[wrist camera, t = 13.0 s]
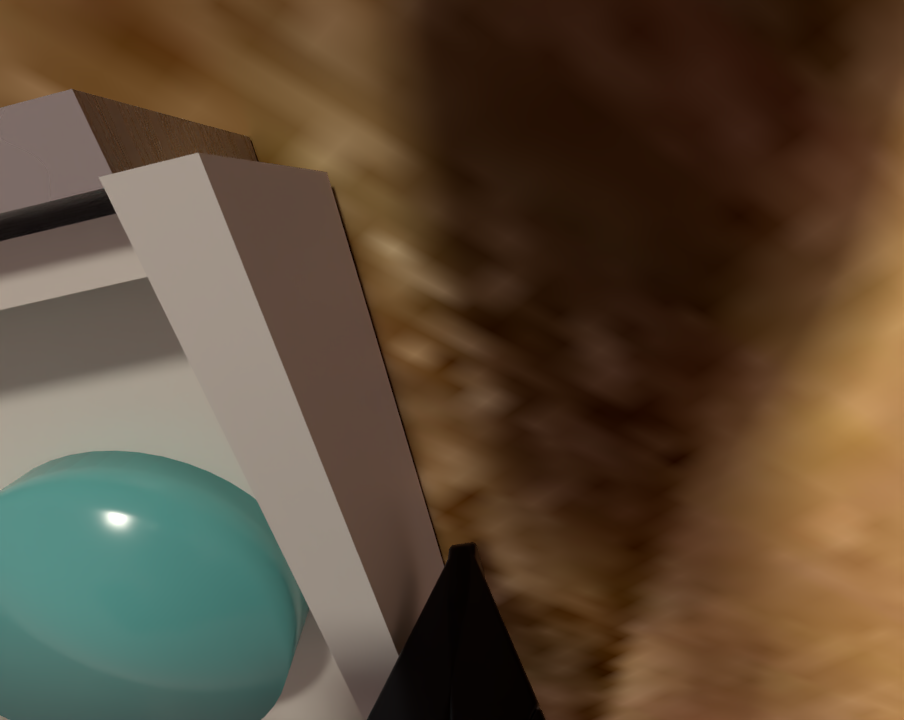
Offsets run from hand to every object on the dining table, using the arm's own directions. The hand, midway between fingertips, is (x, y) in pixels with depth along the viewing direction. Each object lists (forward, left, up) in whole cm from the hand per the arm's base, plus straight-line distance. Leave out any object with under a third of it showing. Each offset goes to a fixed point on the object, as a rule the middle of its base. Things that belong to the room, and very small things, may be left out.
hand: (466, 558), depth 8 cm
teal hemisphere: (+7, 0, -1) cm, 7 cm away
